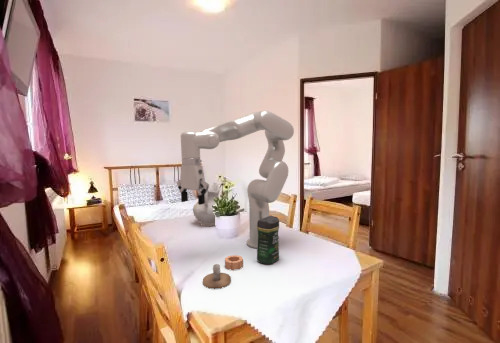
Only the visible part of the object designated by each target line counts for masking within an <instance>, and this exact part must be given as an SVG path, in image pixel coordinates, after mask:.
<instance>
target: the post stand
mask: <svg viewBox="0 0 500 343" xmlns="http://www.w3.org/2000/svg"><path fill="white" fill-rule="evenodd" d="M212 270H213V272H212V273H209V274H206V275H205V276H204V277H203V279H202V284H203V286H204V287H205V286H206V287H205V288H207V287H208V289H210V288H214V289H213V290H216V289H215V288H220V289H223V288H222V287H224V288H226V287H228V286H230V284H231V283H232V276H230V275H229V274H228V273H226V272H225V273H224V272H221V264H219V263H218V264H217V263H216V264H213V265H212ZM227 285H228V286H227ZM225 286H226V287H225Z"/></svg>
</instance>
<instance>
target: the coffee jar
mask: <svg viewBox="0 0 500 343" xmlns="http://www.w3.org/2000/svg"><path fill="white" fill-rule="evenodd" d="M257 229H258V248H256V249H257V251H256V260H257V262H259V263H260V264H262V265H271V264H273V263H275V262H277V261H278V260H279V259H280V248H279V239H278V236H279V231H280V219H279V218H278V216H273V215H269V216H268V217H265V218H263V219H260V220H258V223H257Z"/></svg>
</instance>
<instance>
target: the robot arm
mask: <svg viewBox="0 0 500 343" xmlns="http://www.w3.org/2000/svg"><path fill="white" fill-rule="evenodd" d="M258 131H259V132H260V131H264V134H265V137H266V140H267V145H268V147H267V150H266V153H265V155H264V157H263V158H262V161H261V164H260V166H259V169H258V173H259V175H260V176H261V177H262V178H263V179H259V178H256V179H255V178H254V179H253V180H251V181H250V182H249V183H248V185H247V189H246V190H247V192H246V193H247V197H248V208H249V212H248V213H249V220H248V221H249V239H247V241H246V246H248V247H250V248H251V249H252V248H253V249H258V229H257V223H258V220H260V219H263V218H265V217H268V216H270V205H269V204H271V203H273V202H275V201H276V200H278V198H279V197H280V195H281V193H282V190H283V188H284V186H285V184H286V182H287V179H288V176H289V166H288V164H287V163H286V162H285V161H284V157H285V152H286V148H285V144H284V141H288V140H290V139H292V138H293V136H294V133H295V130H294V126H293V124H292V123H290V122H289V121H288V120H286V119H285V118H282V117H281V116H279V115H277V114H276V113H275V112H274V113H273V112H272V111H269V110H261V111H255V112H252V113H249V114H246V115H244V116H240V117H239V118H235V119H233V120H229V121H227V122H225V123H222V124H219V125H216V126H212V127H210V128H206V129H204V130H202V131H199V132H197V131H183V132H181V134H180V151H181V168H180V179H179V180H178V181H176V185H177V188H178V190H179V193H180V197H181V198H180V200H181V201H180V202H181V203H184V202H188V201H189V199H188V198H189V196H188V195H189V194H188V191H187V190H190V191H191V190H193V191H196V192H197V191H198V192H197V194H198V193H199V194H198V196H197V202H198V204H199V205H201V204H204V203H205V194H206V192H207V190H208V187H209V185H210V184H209V183H208V182H207V181H205V178H206V177H205V173H204V172H205V170H204V168H203V165H202V164H201V163H202V162H203V161H202V159H201V149H203V150H213V149H215V148H217V147H218V146H219V145H220V143H223V142H227V141H234V140H238V139H241V138H243V137H247V136H248V135H252V134H253V133H256V132H258ZM265 179H266V180H265ZM203 188H204V189H203ZM278 240H280V237H279V235H278Z"/></svg>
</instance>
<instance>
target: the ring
mask: <svg viewBox="0 0 500 343" xmlns="http://www.w3.org/2000/svg"><path fill="white" fill-rule="evenodd" d="M224 267H225V269H226V268H227V270H229V269H231V270H230V271H235V270H234V269H239V270H240V268H241V267H242V268H243V267H244V258H243V256H241V255H237V254H236V255H235V254H234V255H228V256H227V257H224ZM242 268H241V269H242Z"/></svg>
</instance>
